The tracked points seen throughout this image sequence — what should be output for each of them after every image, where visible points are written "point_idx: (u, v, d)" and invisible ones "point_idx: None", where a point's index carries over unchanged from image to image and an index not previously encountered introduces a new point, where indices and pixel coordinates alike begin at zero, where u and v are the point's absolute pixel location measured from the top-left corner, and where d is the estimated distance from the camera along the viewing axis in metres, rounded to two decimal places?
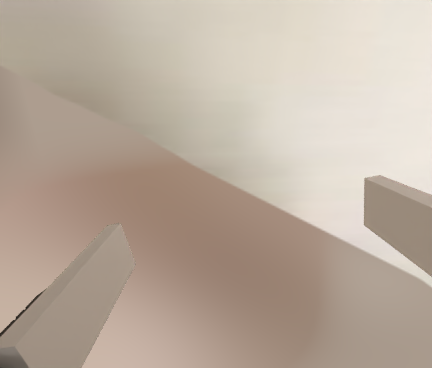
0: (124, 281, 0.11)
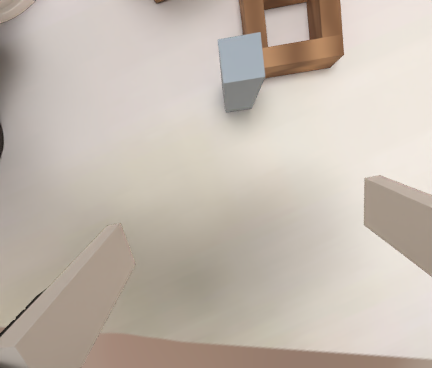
0: (124, 281, 0.11)
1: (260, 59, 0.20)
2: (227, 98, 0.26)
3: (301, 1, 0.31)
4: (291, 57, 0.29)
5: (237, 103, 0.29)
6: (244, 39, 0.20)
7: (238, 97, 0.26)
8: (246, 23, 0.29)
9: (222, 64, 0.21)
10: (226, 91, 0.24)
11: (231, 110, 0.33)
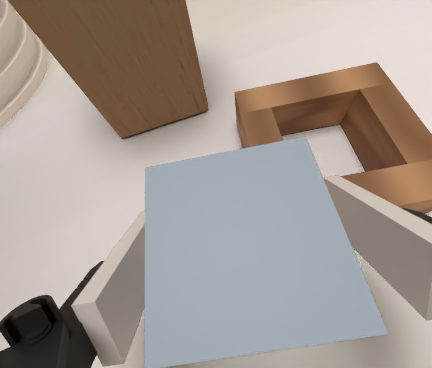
0: None
1: (332, 236, 0.04)
2: None
3: (332, 123, 0.20)
4: None
5: None
6: (245, 161, 0.05)
7: None
8: None
9: (151, 261, 0.04)
10: None
11: None
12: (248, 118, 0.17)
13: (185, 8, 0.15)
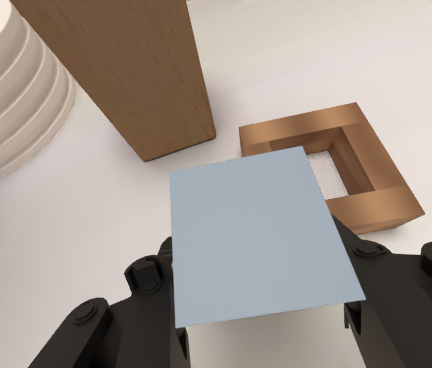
0: None
1: (323, 226, 0.05)
2: None
3: (321, 150, 0.24)
4: None
5: None
6: (252, 166, 0.06)
7: None
8: None
9: (177, 246, 0.05)
10: None
11: None
12: (250, 150, 0.21)
13: (200, 68, 0.19)
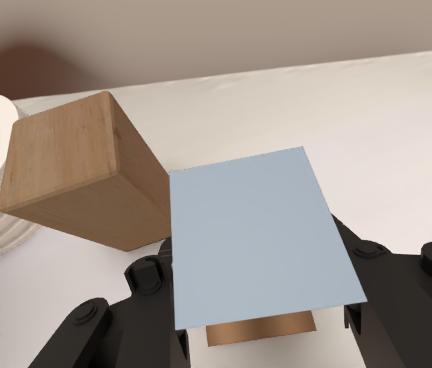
0: None
1: (324, 227, 0.05)
2: None
3: None
4: (255, 332, 0.24)
5: None
6: (253, 167, 0.06)
7: None
8: None
9: (177, 247, 0.05)
10: None
11: None
12: None
13: (162, 212, 0.26)
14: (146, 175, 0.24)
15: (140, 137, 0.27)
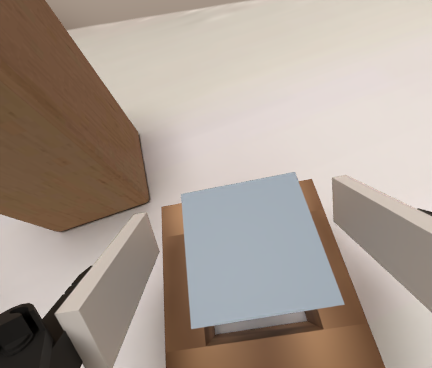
0: (151, 266, 0.12)
1: (311, 243, 0.06)
2: None
3: None
4: None
5: None
6: (252, 190, 0.07)
7: None
8: (165, 290, 0.15)
9: (190, 260, 0.07)
10: None
11: None
12: (169, 245, 0.16)
13: (88, 146, 0.14)
14: (42, 60, 0.12)
15: (52, 13, 0.15)
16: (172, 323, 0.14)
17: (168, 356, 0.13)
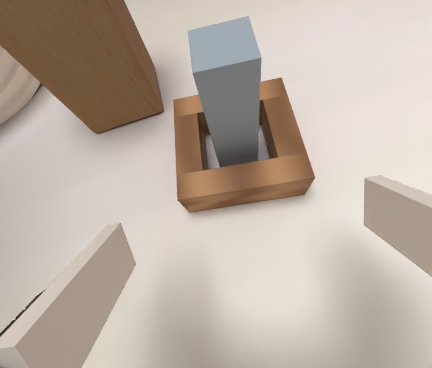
0: (124, 281, 0.11)
1: (251, 40, 0.13)
2: (213, 129, 0.17)
3: None
4: (236, 182, 0.19)
5: (233, 148, 0.20)
6: (225, 25, 0.14)
7: (230, 128, 0.18)
8: (176, 145, 0.22)
9: (192, 52, 0.13)
10: (206, 105, 0.15)
11: None
12: (179, 121, 0.23)
13: (126, 41, 0.21)
14: None
15: None
16: (181, 161, 0.21)
17: (178, 176, 0.20)
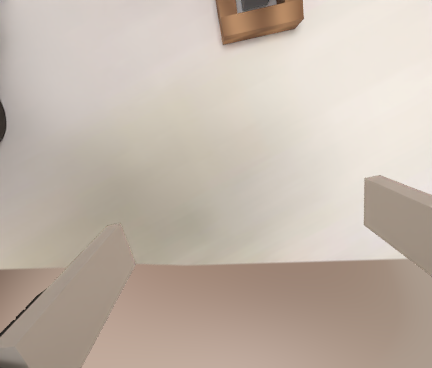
0: (124, 281, 0.11)
1: None
2: None
3: None
4: (258, 23, 0.32)
5: None
6: None
7: None
8: None
9: None
10: None
11: (248, 7, 0.34)
12: None
13: None
14: None
15: None
16: (222, 5, 0.32)
17: (222, 19, 0.32)
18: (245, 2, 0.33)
